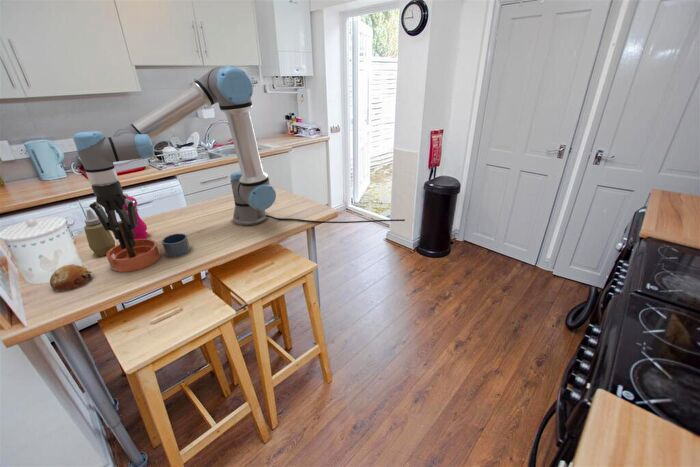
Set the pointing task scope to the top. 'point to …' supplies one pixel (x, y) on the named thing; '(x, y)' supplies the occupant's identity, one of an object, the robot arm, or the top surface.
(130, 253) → the stick
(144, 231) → the pepper mill
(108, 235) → the squeeze bottle
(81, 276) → the bread roll
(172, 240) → the utensil pot
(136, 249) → the bowl
